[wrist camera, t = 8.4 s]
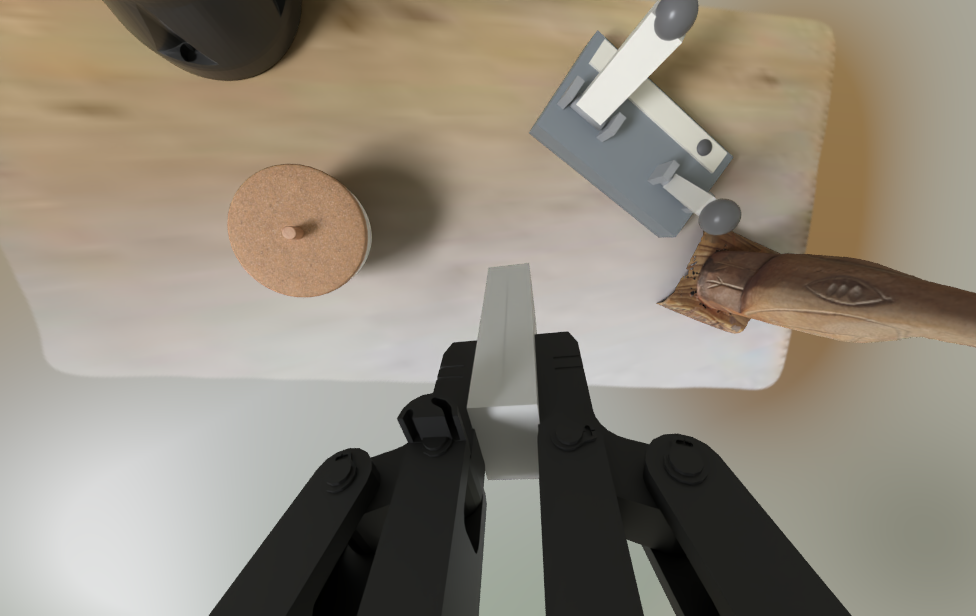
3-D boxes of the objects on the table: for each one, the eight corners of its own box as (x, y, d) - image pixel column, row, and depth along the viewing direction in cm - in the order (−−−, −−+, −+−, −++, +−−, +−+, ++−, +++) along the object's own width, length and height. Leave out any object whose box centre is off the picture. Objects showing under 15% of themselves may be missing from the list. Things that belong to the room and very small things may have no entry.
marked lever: (593, 138, 33) (706, 26, 23) (565, 113, 33) (667, -14, 22) (603, 119, 34) (716, 3, 24) (575, 95, 34) (679, -36, 23)
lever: (677, 208, 37) (726, 250, 27) (653, 187, 36) (694, 223, 26) (699, 186, 36) (760, 222, 26) (675, 164, 35) (728, 193, 25)
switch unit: (658, 237, 40) (692, 237, 35) (528, 132, 36) (543, 114, 31) (712, 163, 39) (755, 151, 34) (584, 47, 35) (610, 12, 30)
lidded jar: (342, 159, 35) (306, 131, 26) (401, 253, 37) (387, 258, 28) (249, 213, 35) (180, 204, 25) (314, 304, 37) (272, 325, 28)
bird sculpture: (690, 216, 41) (1465, 143, 9) (772, 249, 42) (1652, 279, 11) (652, 305, 42) (1199, 490, 11) (731, 333, 44) (1397, 561, 13)
